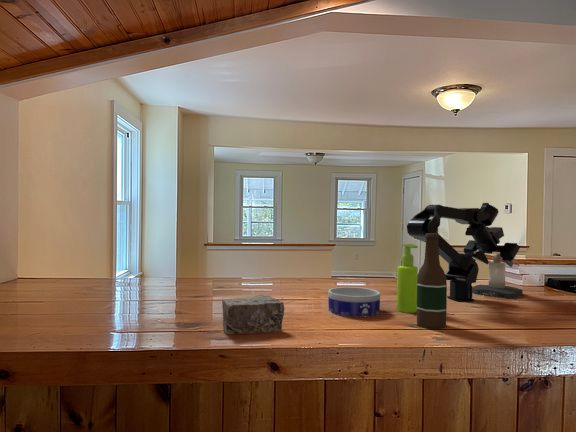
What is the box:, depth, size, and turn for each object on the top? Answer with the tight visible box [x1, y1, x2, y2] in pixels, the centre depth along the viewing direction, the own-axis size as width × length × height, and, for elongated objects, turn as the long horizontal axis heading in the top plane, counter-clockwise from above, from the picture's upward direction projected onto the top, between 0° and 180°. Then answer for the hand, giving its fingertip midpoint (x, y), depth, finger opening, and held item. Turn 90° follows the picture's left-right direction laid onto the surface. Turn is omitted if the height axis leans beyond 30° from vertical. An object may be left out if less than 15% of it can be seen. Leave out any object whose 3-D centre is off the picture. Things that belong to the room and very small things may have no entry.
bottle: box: [488, 252, 507, 288], centre depth 150 cm, size 5×5×12 cm
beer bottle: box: [416, 233, 448, 330], centre depth 106 cm, size 8×8×24 cm
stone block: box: [221, 294, 285, 335], centre depth 102 cm, size 14×9×8 cm, turn 114°
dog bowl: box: [327, 286, 381, 318], centre depth 122 cm, size 15×15×6 cm
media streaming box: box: [472, 284, 524, 300], centre depth 150 cm, size 15×15×3 cm
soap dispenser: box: [396, 243, 419, 314], centre depth 122 cm, size 6×7×20 cm
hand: (499, 264), depth 151 cm, fingers open, 9 cm apart
